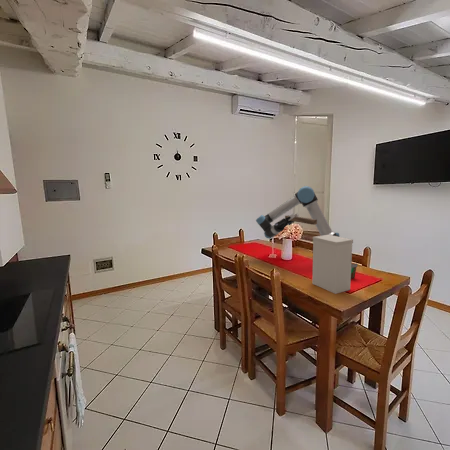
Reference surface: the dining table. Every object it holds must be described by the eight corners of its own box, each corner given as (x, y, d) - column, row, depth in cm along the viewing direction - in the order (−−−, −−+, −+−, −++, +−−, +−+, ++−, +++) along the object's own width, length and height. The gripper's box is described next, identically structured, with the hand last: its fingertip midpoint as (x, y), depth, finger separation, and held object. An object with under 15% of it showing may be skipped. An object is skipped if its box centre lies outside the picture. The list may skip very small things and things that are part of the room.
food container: (334, 275, 180) (334, 261, 178) (339, 273, 183) (339, 259, 182) (351, 280, 170) (352, 265, 169) (356, 278, 174) (357, 263, 172)
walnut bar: (288, 219, 194) (288, 215, 194) (316, 224, 169) (316, 219, 169) (285, 219, 193) (285, 215, 192) (313, 224, 168) (313, 219, 167)
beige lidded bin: (326, 280, 172) (328, 234, 168) (350, 289, 156) (353, 239, 152) (311, 283, 167) (312, 236, 162) (334, 294, 151) (336, 242, 146)
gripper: (287, 231, 206) (306, 219, 186) (270, 233, 199) (288, 221, 179) (284, 222, 209) (303, 209, 189) (267, 224, 202) (284, 211, 182)
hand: (295, 215), depth 184 cm, fingers closed on walnut bar, 3 cm apart
